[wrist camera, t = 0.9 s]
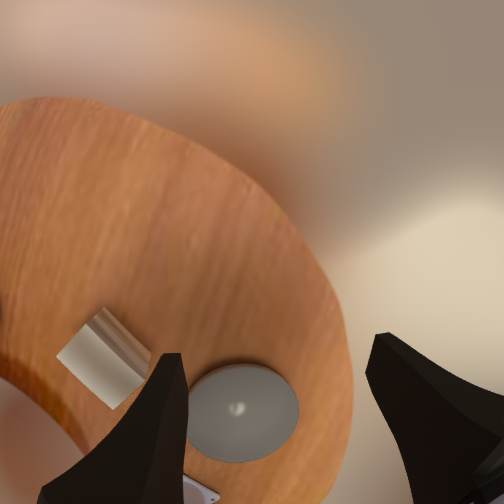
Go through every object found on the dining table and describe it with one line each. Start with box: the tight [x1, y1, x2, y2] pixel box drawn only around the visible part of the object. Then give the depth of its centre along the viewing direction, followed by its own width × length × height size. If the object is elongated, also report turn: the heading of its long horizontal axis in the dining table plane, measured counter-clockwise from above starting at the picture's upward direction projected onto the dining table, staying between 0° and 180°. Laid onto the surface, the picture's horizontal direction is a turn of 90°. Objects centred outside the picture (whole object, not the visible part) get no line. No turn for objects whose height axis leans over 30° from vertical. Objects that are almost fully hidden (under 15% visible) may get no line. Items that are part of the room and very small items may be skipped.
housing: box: [56, 307, 151, 410], centre depth 23 cm, size 4×6×6 cm, turn 42°
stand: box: [187, 363, 299, 463], centre depth 28 cm, size 11×11×2 cm
